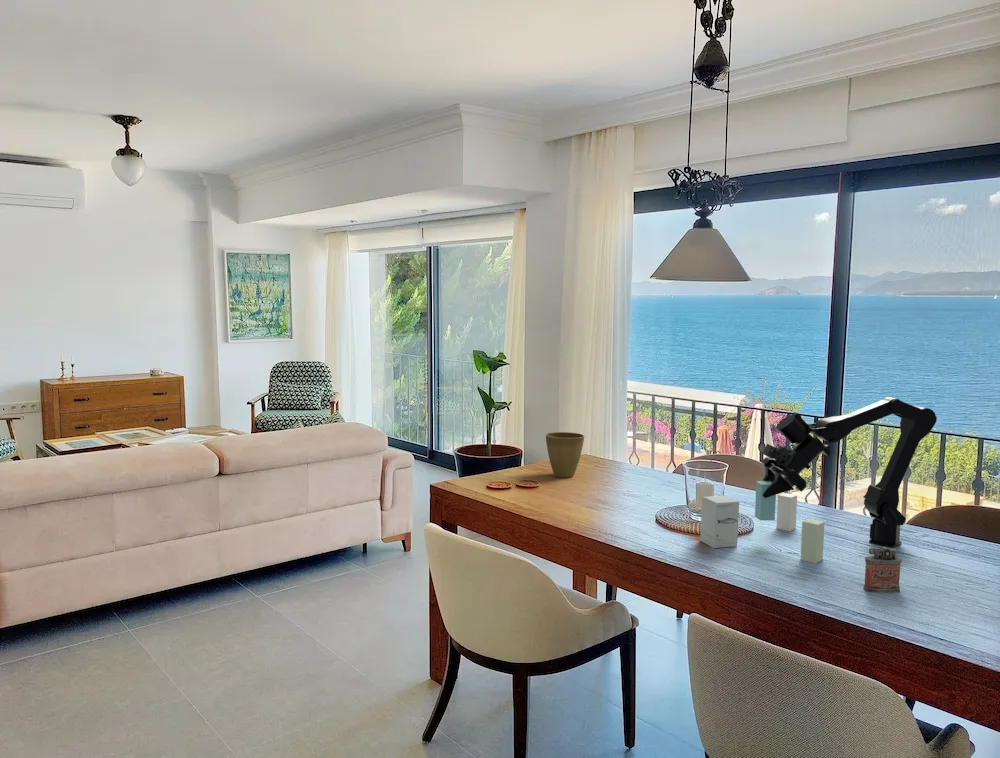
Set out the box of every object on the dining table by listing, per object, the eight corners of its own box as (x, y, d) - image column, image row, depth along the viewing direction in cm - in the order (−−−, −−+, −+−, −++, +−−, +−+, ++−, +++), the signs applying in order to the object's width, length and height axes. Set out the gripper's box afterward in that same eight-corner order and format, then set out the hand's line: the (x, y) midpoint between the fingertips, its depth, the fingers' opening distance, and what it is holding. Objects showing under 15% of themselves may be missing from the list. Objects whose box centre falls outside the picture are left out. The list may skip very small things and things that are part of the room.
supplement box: (714, 549, 198) (715, 502, 197) (699, 540, 205) (701, 496, 204) (738, 547, 200) (740, 501, 199) (723, 538, 207) (724, 494, 206)
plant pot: (586, 480, 278) (586, 438, 276) (546, 480, 277) (547, 437, 276) (581, 471, 292) (581, 431, 291) (543, 471, 292) (544, 431, 291)
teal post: (769, 516, 205) (770, 480, 204) (774, 520, 201) (776, 484, 200) (754, 516, 205) (756, 480, 204) (760, 520, 201) (761, 484, 200)
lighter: (894, 587, 171) (897, 545, 171) (902, 592, 168) (905, 549, 167) (860, 587, 171) (862, 545, 170) (868, 592, 168) (870, 550, 167)
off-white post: (795, 528, 218) (797, 495, 217) (789, 531, 215) (791, 497, 214) (782, 525, 220) (784, 492, 220) (776, 528, 218) (777, 495, 217)
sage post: (822, 559, 190) (824, 521, 189) (816, 563, 187) (817, 524, 186) (807, 556, 193) (809, 518, 192) (800, 559, 190) (802, 521, 189)
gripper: (769, 429, 210) (729, 467, 211) (796, 440, 192) (752, 482, 193) (795, 456, 211) (756, 494, 212) (825, 470, 193) (781, 511, 193)
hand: (760, 494), depth 202 cm, fingers closed on teal post, 4 cm apart
